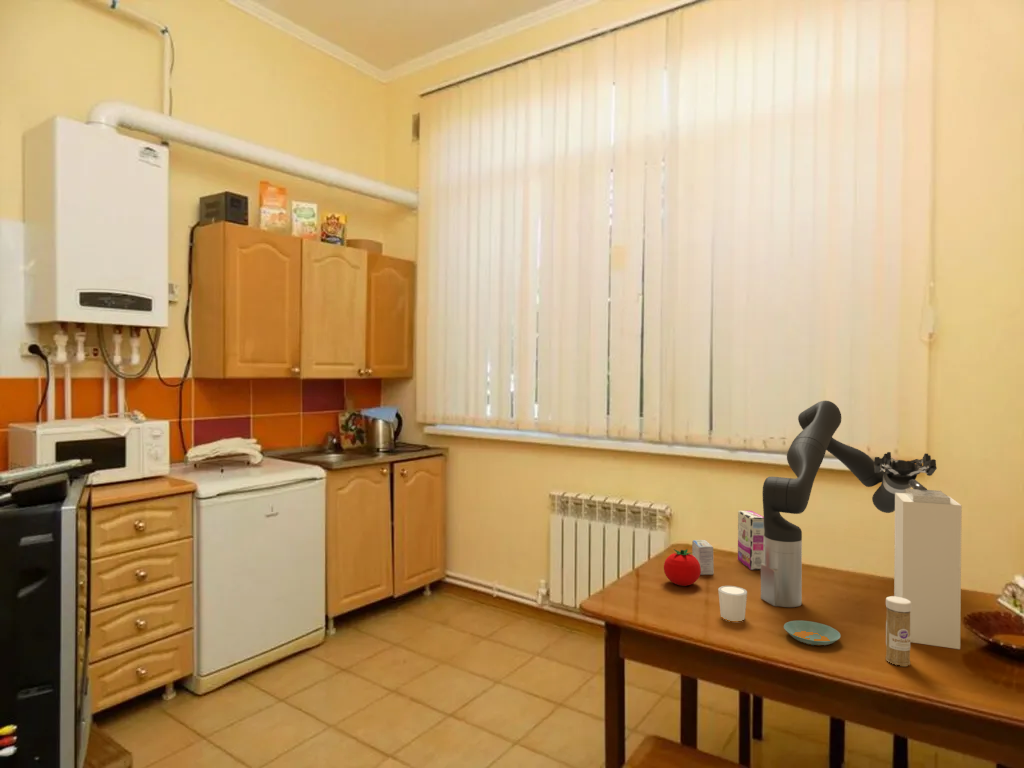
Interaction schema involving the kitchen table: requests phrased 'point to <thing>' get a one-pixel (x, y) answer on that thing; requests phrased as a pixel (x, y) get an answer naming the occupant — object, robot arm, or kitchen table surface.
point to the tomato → (682, 568)
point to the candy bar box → (751, 539)
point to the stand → (929, 568)
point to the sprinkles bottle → (898, 630)
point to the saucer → (812, 627)
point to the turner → (925, 494)
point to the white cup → (732, 602)
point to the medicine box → (703, 556)
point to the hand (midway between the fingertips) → (908, 455)
